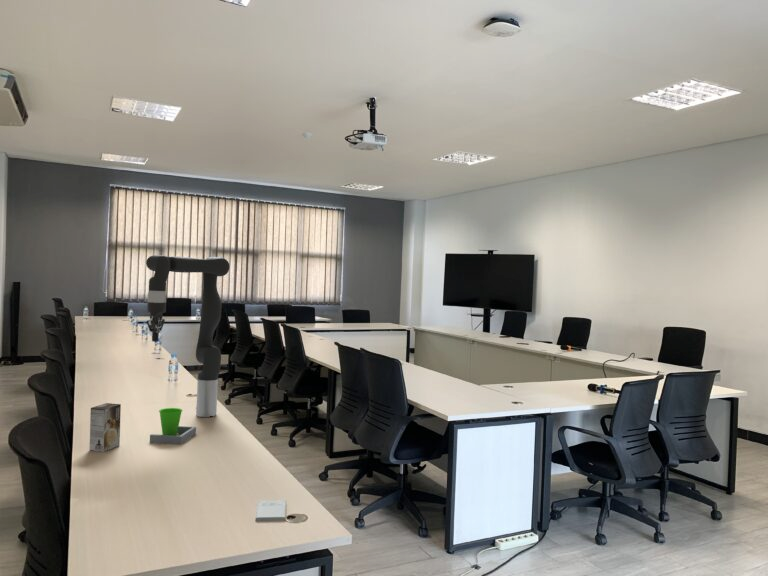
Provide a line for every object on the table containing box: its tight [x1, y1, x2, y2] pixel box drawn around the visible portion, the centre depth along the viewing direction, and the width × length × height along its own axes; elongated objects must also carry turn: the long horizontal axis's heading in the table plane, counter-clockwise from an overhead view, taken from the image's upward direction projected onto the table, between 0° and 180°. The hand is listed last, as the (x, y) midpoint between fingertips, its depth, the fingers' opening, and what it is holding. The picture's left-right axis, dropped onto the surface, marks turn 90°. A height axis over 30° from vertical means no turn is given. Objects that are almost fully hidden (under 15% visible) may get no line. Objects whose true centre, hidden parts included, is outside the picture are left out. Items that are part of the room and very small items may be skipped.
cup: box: [158, 407, 183, 436], centre depth 236 cm, size 9×9×11 cm
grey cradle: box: [149, 425, 197, 445], centre depth 235 cm, size 15×13×3 cm
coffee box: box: [88, 402, 122, 453], centre depth 218 cm, size 9×6×16 cm
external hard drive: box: [254, 499, 287, 522], centre depth 167 cm, size 2×8×12 cm
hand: (155, 341), depth 250 cm, fingers closed
